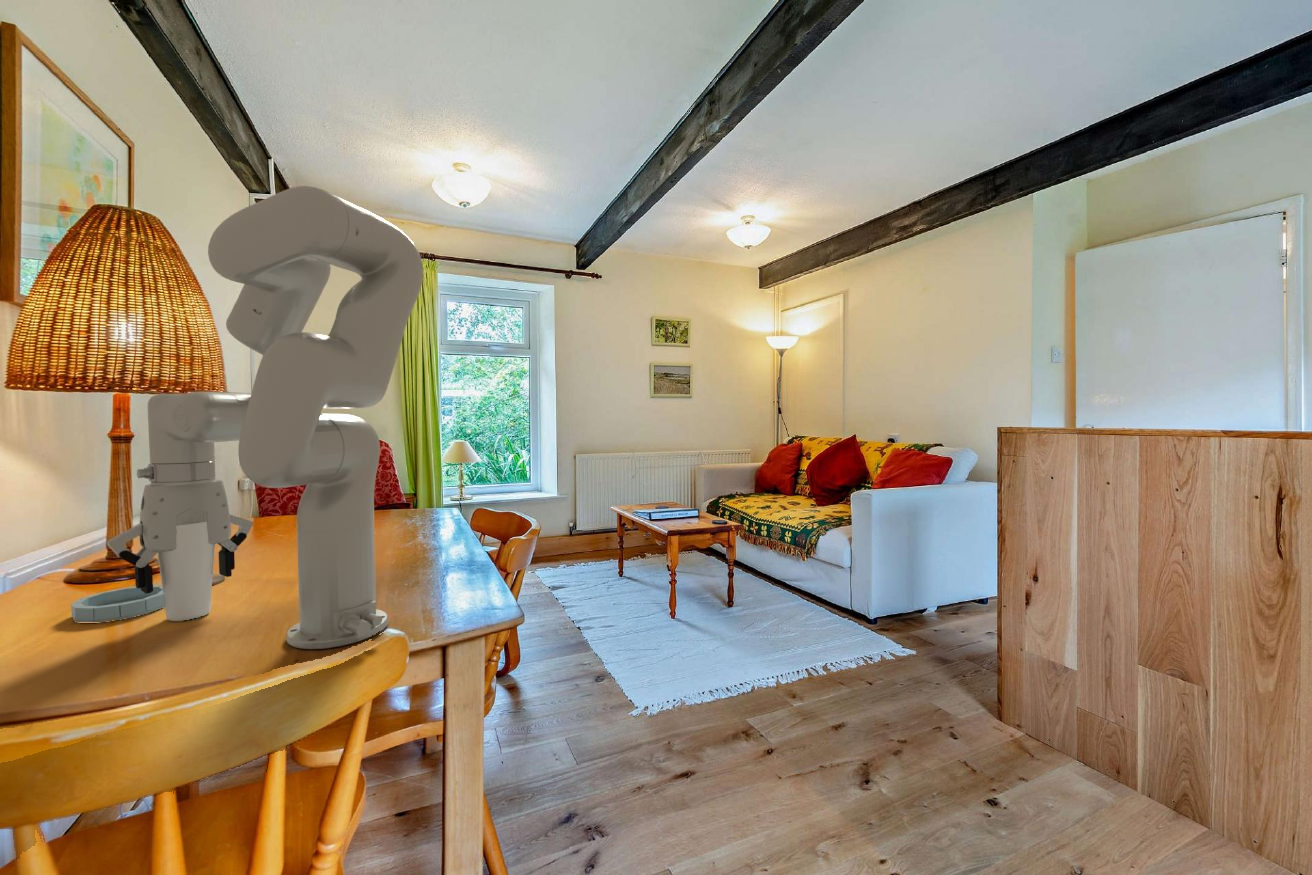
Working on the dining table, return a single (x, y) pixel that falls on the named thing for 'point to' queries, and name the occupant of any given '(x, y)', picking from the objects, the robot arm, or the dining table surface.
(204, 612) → the drinking glass
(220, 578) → the walnut coaster
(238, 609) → the dining table surface
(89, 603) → the round dish
